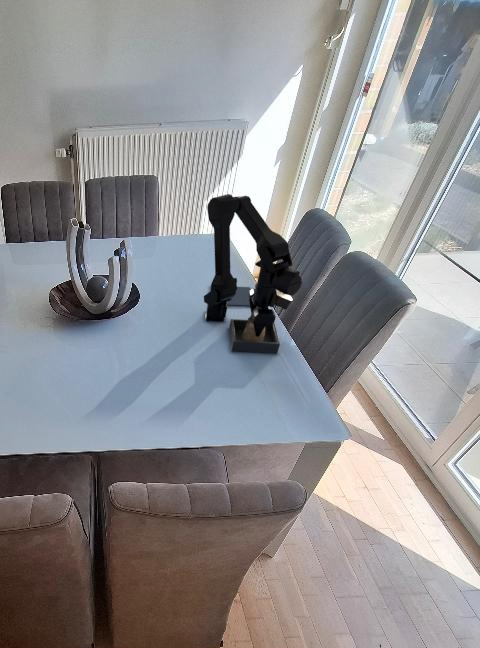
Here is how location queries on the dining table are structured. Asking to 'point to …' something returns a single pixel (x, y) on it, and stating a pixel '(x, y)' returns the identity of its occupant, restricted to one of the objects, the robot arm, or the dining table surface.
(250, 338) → the figurine
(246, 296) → the mat
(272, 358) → the dining table surface
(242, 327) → the bin
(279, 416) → the dining table surface
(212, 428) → the dining table surface
